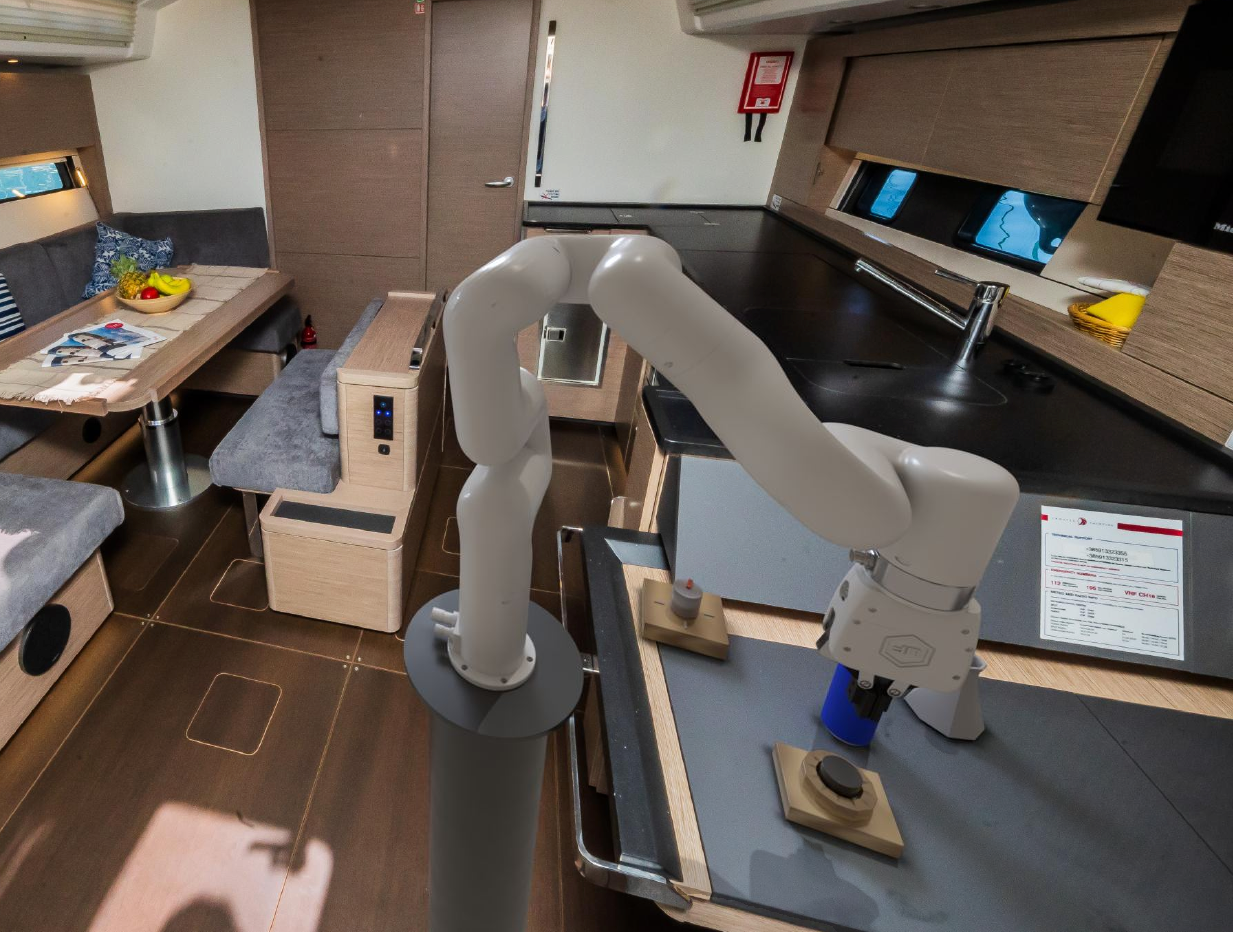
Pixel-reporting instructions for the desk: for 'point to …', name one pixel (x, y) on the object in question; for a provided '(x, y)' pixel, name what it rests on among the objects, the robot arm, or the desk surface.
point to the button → (840, 776)
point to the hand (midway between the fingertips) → (862, 708)
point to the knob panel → (684, 621)
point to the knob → (686, 598)
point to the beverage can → (845, 713)
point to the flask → (952, 706)
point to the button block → (835, 802)
